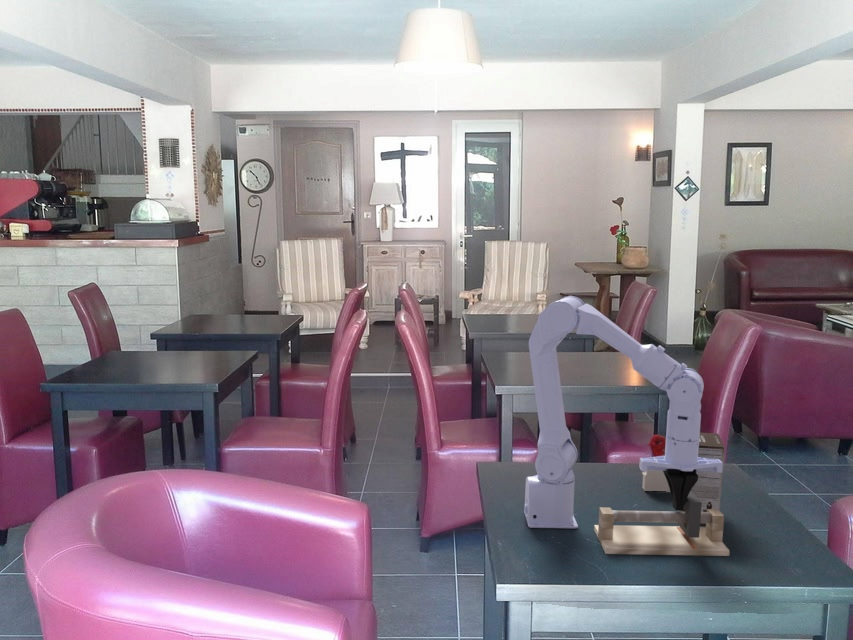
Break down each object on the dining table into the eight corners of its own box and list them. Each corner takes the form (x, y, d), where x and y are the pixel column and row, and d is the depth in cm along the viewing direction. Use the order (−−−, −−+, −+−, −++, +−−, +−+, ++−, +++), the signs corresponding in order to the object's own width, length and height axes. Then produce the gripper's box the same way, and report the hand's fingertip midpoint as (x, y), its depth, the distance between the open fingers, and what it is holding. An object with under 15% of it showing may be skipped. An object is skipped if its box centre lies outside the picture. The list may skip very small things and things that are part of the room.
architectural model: (640, 487, 168) (642, 455, 167) (671, 488, 168) (673, 456, 167) (644, 493, 165) (646, 461, 164) (676, 494, 165) (678, 461, 164)
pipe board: (605, 553, 135) (607, 521, 134) (593, 529, 145) (595, 499, 144) (729, 555, 135) (731, 523, 134) (708, 531, 145) (711, 501, 144)
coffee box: (680, 504, 158) (685, 430, 155) (712, 507, 156) (718, 432, 154) (685, 522, 149) (691, 444, 146) (720, 525, 148) (726, 446, 145)
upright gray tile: (688, 537, 137) (690, 502, 136) (678, 524, 142) (680, 490, 141) (699, 537, 137) (701, 502, 136) (689, 525, 142) (691, 491, 141)
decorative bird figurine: (641, 475, 174) (643, 433, 173) (702, 466, 181) (705, 426, 179) (649, 480, 172) (652, 437, 170) (710, 470, 178) (713, 429, 177)
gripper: (648, 443, 133) (644, 516, 135) (731, 444, 133) (725, 517, 135) (637, 431, 140) (633, 501, 142) (716, 432, 140) (711, 502, 142)
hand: (677, 508), depth 139 cm, fingers closed
